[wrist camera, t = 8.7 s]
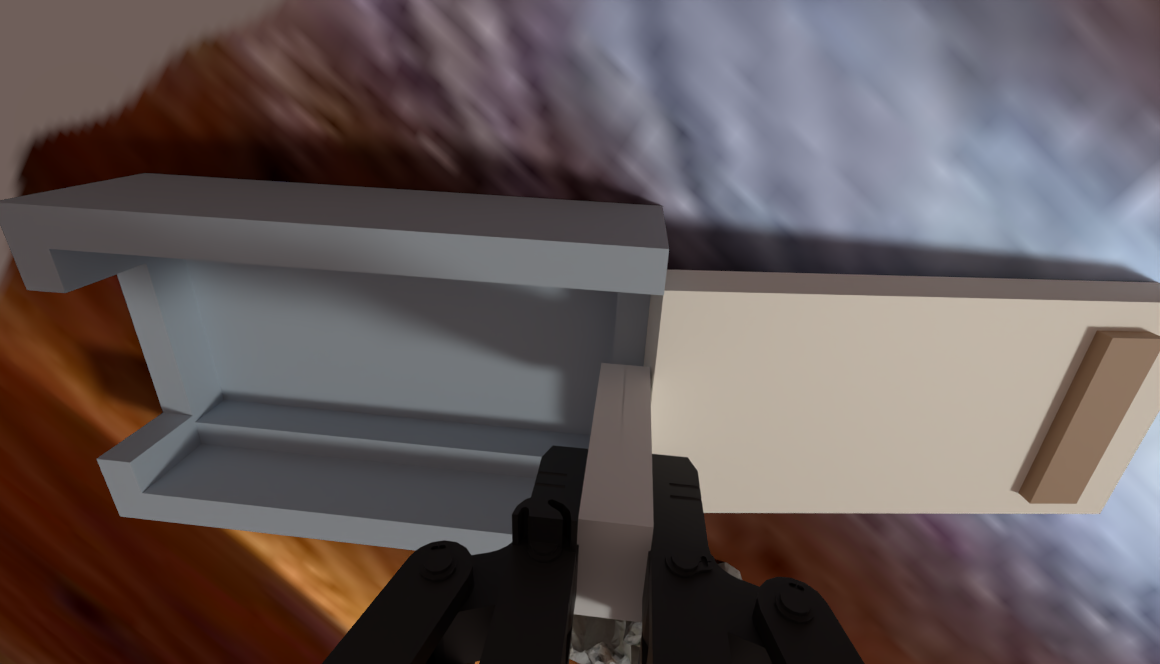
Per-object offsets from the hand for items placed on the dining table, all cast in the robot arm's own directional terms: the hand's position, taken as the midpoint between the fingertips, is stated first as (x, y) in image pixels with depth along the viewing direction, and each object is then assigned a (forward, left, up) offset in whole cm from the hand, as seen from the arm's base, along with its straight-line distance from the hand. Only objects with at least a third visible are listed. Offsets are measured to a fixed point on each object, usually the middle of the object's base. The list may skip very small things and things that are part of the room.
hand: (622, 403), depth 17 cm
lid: (+8, 0, -2) cm, 9 cm away
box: (-8, 0, -3) cm, 9 cm away
